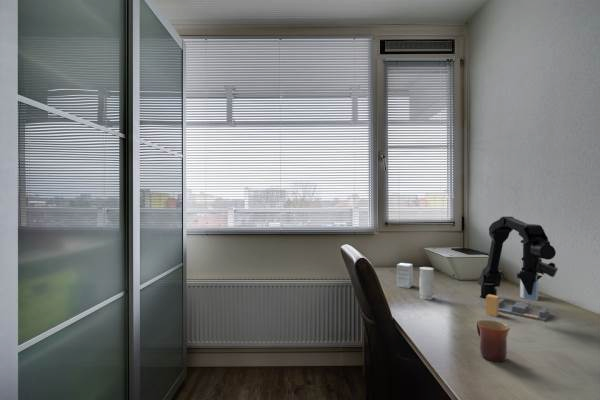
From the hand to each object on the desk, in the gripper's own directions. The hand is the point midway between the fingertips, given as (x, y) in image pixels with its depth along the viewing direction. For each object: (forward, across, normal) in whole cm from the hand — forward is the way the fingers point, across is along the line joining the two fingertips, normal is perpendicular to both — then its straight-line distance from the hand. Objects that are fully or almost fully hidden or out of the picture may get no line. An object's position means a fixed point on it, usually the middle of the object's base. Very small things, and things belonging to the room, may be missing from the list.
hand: (531, 293), depth 137 cm
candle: (+12, +3, +45) cm, 47 cm away
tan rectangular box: (+12, 0, +14) cm, 18 cm away
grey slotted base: (+12, +12, +6) cm, 18 cm away
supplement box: (+12, +17, +64) cm, 67 cm away
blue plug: (+2, 0, 0) cm, 2 cm away
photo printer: (+12, +43, +9) cm, 46 cm away
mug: (+12, -44, +3) cm, 46 cm away
